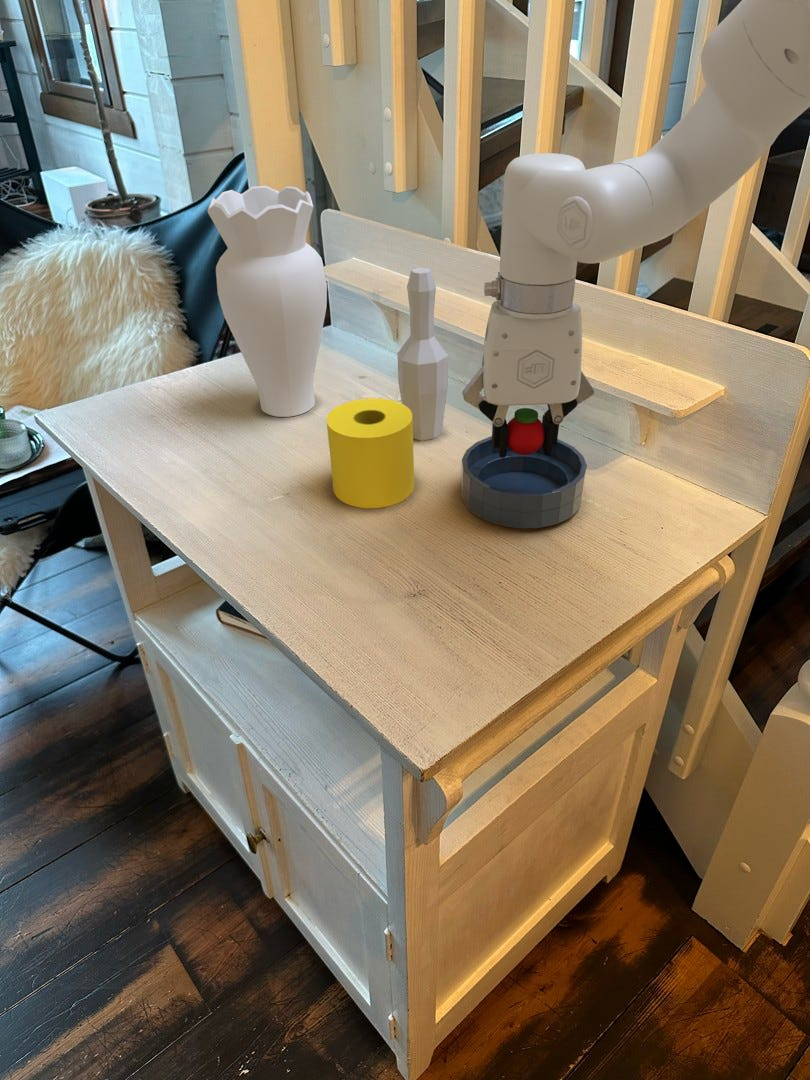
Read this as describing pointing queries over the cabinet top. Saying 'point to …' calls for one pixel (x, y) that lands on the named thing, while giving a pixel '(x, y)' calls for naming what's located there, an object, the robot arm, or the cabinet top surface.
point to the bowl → (523, 484)
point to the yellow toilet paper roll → (371, 452)
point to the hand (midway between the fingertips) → (523, 449)
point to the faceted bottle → (423, 360)
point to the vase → (272, 291)
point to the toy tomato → (525, 432)
